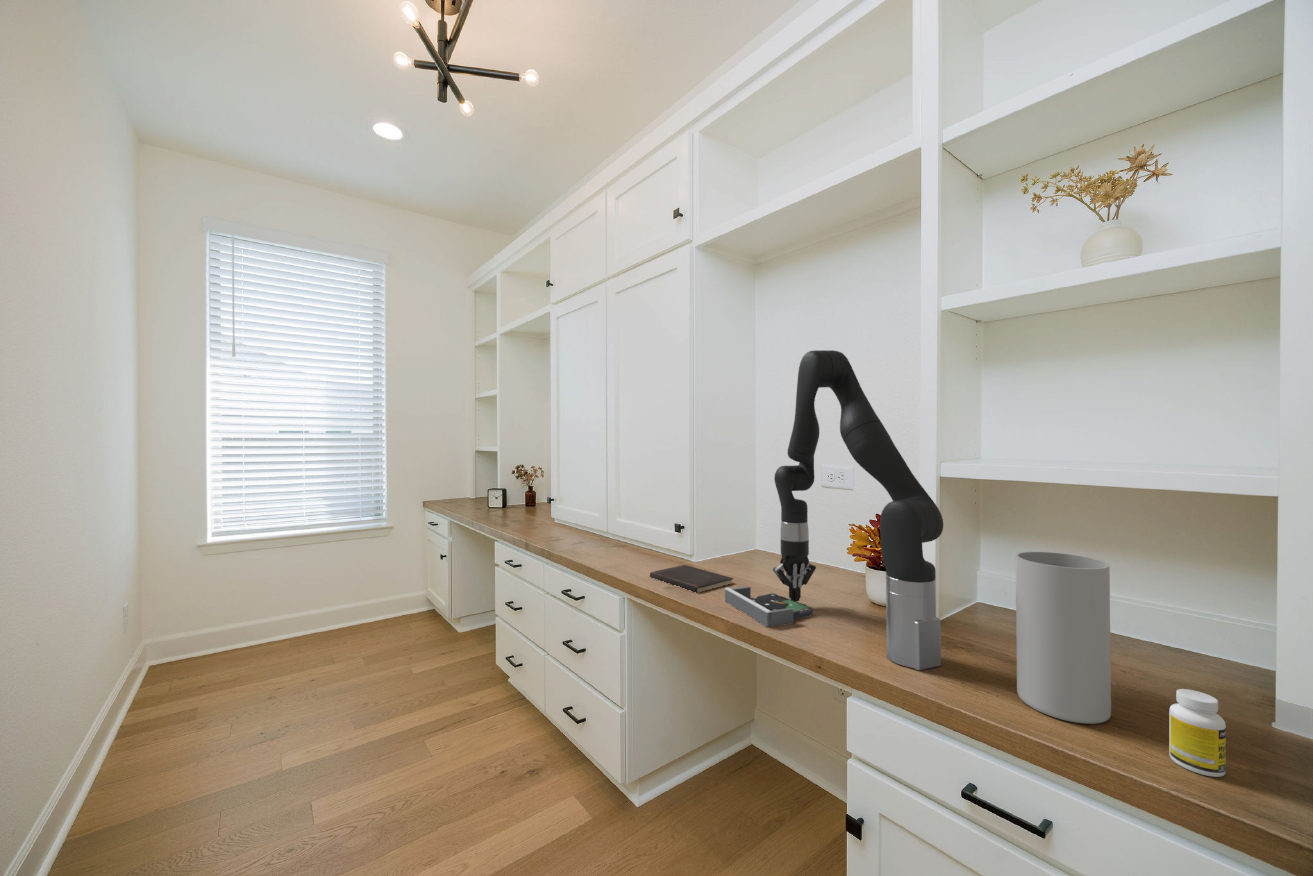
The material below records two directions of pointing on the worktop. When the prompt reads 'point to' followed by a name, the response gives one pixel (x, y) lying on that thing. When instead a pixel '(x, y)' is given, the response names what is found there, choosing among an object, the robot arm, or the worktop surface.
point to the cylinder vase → (1064, 635)
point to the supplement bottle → (1197, 733)
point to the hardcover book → (691, 578)
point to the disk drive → (783, 605)
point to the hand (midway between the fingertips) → (794, 600)
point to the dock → (757, 608)
